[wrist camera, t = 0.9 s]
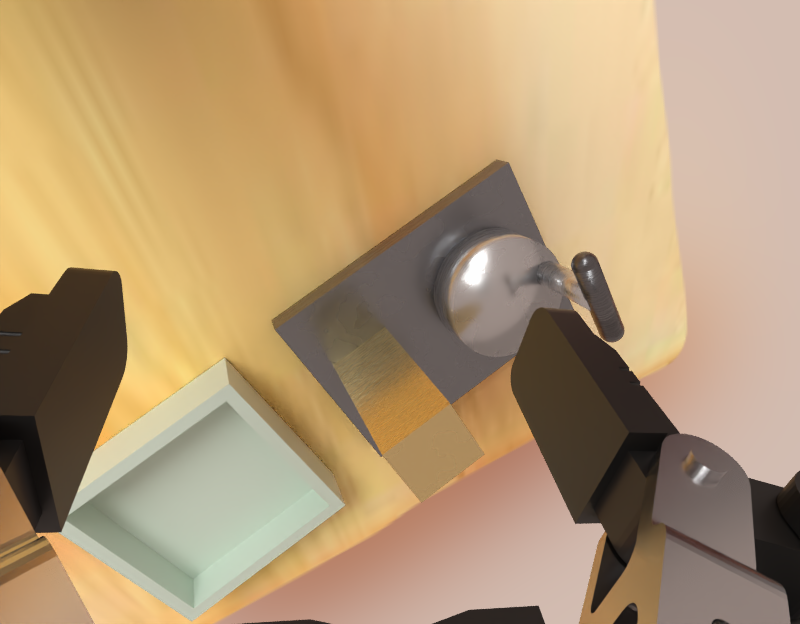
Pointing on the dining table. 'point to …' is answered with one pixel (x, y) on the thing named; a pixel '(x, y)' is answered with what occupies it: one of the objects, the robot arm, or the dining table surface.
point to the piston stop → (407, 415)
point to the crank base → (406, 294)
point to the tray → (200, 493)
